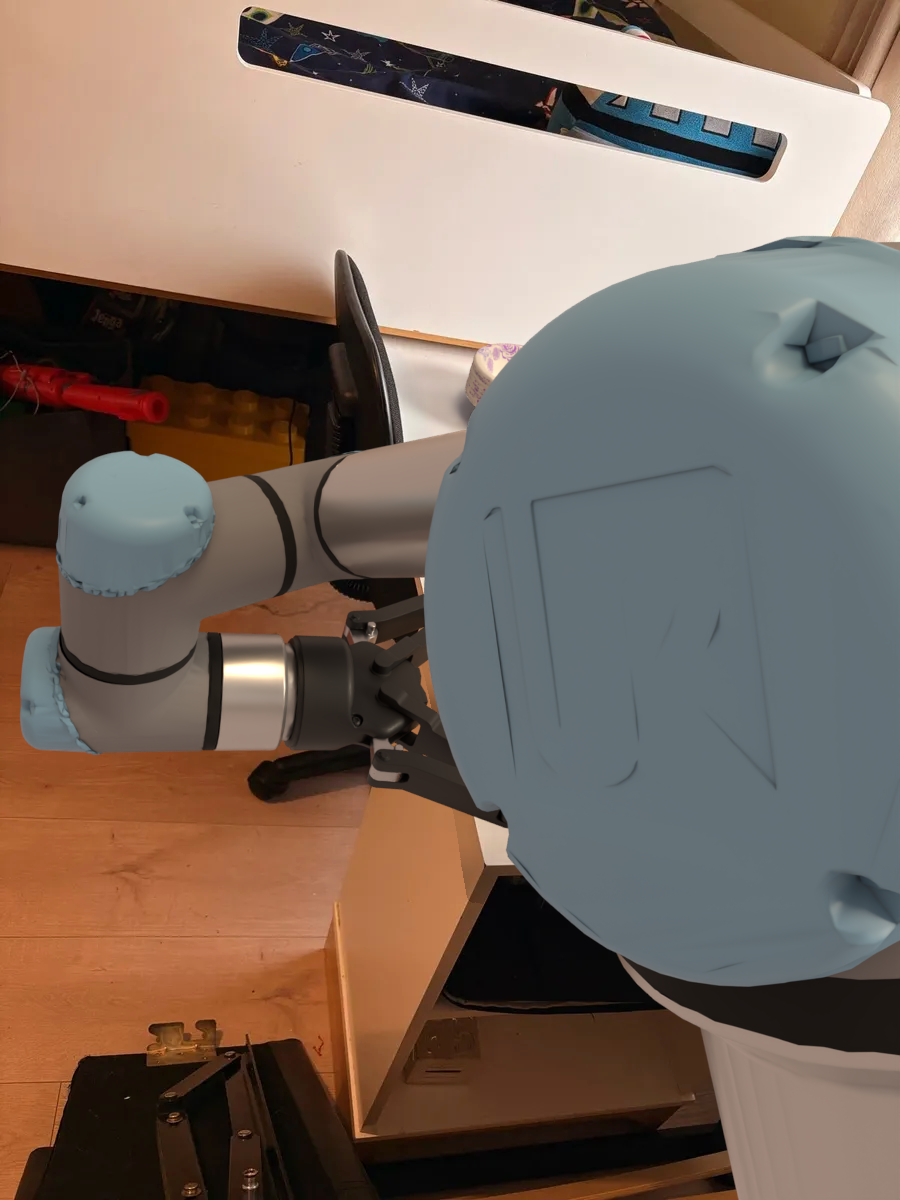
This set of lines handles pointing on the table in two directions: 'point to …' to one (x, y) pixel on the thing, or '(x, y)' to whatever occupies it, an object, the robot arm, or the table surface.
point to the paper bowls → (487, 368)
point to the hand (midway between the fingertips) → (576, 696)
